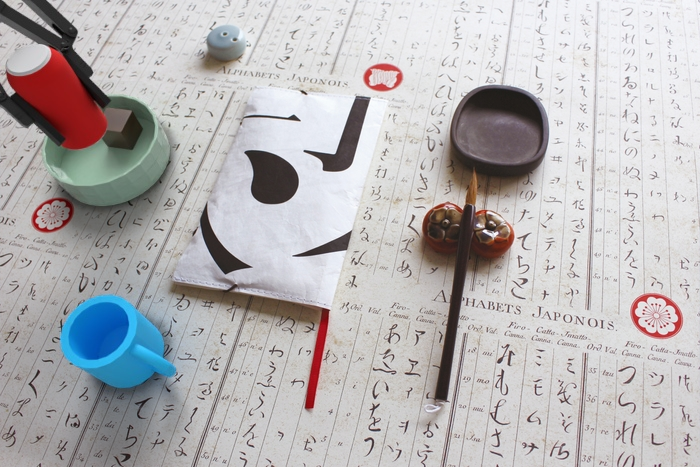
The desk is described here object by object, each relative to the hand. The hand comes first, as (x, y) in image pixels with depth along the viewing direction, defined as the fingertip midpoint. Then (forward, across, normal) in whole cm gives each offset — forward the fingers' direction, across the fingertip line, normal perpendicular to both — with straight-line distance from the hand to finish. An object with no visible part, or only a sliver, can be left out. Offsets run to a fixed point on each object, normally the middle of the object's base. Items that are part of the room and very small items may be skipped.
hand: (84, 123), depth 63 cm
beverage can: (+1, 0, -5) cm, 5 cm away
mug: (+23, +15, +1) cm, 28 cm away
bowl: (+5, -3, -17) cm, 18 cm away
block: (+4, -6, -17) cm, 19 cm away
